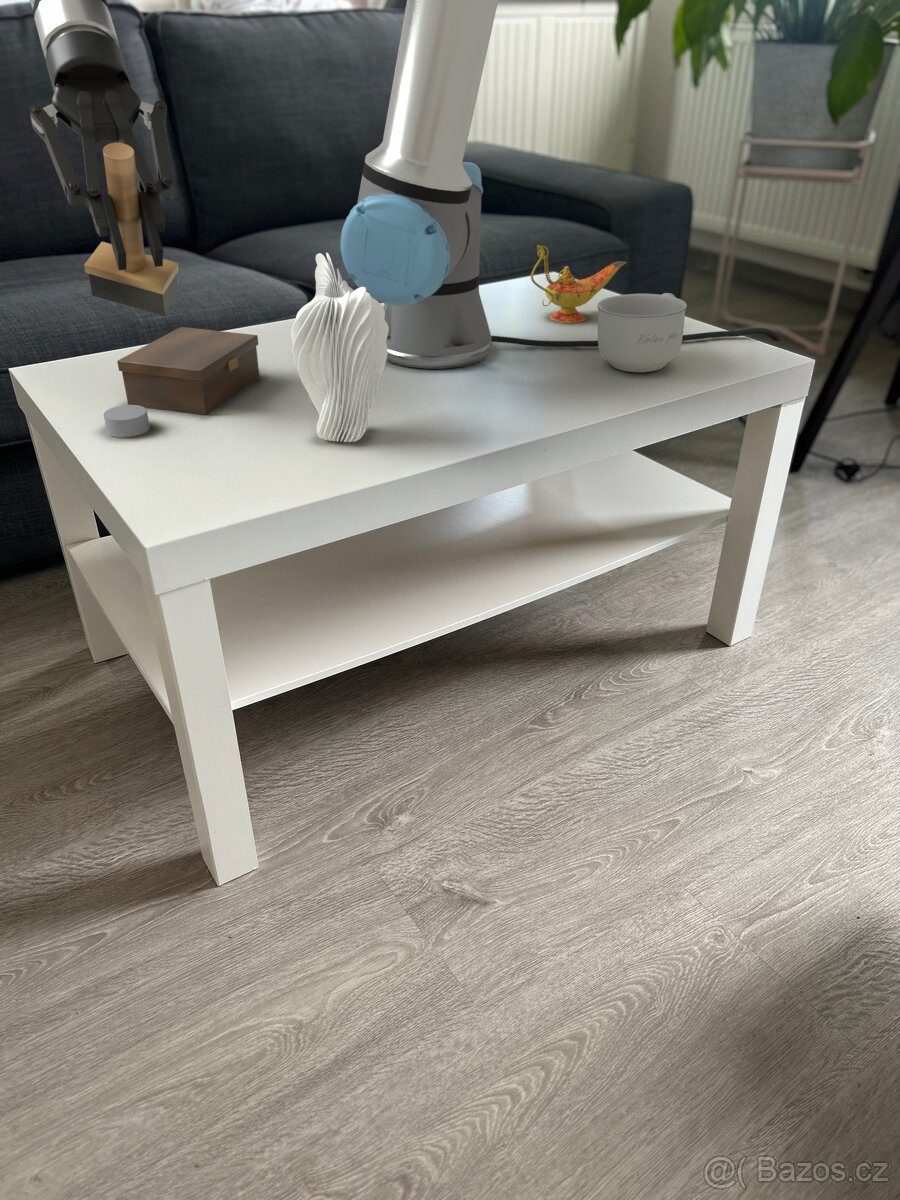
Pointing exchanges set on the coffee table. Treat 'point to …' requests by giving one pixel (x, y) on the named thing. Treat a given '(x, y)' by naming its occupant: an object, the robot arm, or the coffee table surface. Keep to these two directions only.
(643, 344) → the teacup
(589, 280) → the magic lamp
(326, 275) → the shell sculpture
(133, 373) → the walnut box
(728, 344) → the coffee table surface
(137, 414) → the felt pad
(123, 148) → the brush
